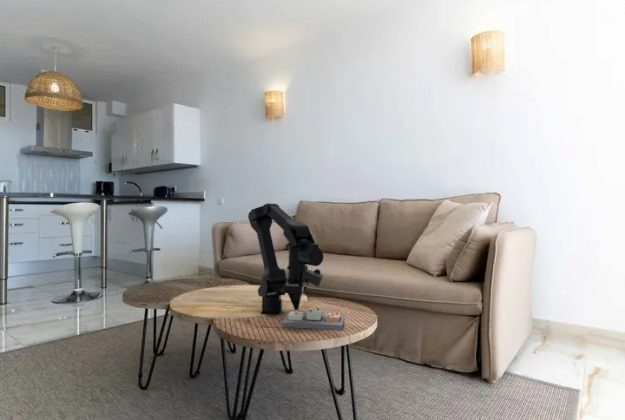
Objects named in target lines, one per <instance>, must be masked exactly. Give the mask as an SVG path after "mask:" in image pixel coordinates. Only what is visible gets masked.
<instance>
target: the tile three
mask: <svg viewBox="0 0 625 420" xmlns="http://www.w3.org/2000/svg"><path fill="white" fill-rule="evenodd" d="M325 314H326V316H325V321H327V322H340V315H341V313H330V312H328V313H325Z"/></svg>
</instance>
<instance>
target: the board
mask: <svg viewBox="0 0 625 420" xmlns="http://www.w3.org/2000/svg"><path fill="white" fill-rule="evenodd" d="M290 312H291V311H289V312H288V314H287V315H286V316H285V318H284V319H283V320H282V321H281V327H282V328H292V329H293V328H295V329H314V330H333V331H335V330H336V331H343V328H344V322H345V314H340V322H327V321H325V316H326V313H322V318H321V320H307V312H304V319H303V320H289V319H288V315H289V313H290Z"/></svg>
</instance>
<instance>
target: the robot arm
mask: <svg viewBox="0 0 625 420" xmlns="http://www.w3.org/2000/svg"><path fill="white" fill-rule="evenodd" d="M247 218H248V221H249V224H250V227H251V228H252V229H253V231H255V233H256V236H257V240H258V244H259V249H260V253H261V259H262V263H263V267H264V268H263V269H264V270H263V274H262V277H261V284H260V286H259V287H258V289H257V295H258V296H259V297H261V298H262V300H261V311H260V315H276V316H277V315H278V316H279V315H280V313H281V312H282V311H283V298H282V296H285V295H286V294H287V295H288V297H289V299H290V302H291V305H292V307H293V308H294V310H295V311H298V310H299V308H300V304H301V299H302V295H303V293H305V291H306V290H307V289H308V287H307V286H305V285H304V284H307V285H310V284H312V285H314V286H315V287H320V286H321V283H322V280H323V278H324V274H322V272H321V269H319V268H316V269H315V270H310V269H309V266H313V267H318V266H320V265H321V264H322V263H323V260H324V253H323V250H322V249H321V248H319V244H318V243H315V239H314V237H313V235H312V233H311V231H310V227H309V225H308V224H306V223H304V222H302V221H298V220H295V219H293V218H292V217H291V216H290V215H289V214H287V212H286V211H284V210H283V209H282V208H281V207H280V205H279V204H277V203H270V202H269V203H265V204H262V205H261V206H258V207H256V208H252V209H251V210H250V212H249V213H248V215H247ZM273 221H274V223H276V224H277V225H278V226H279V227H280V228H281V229H282V230H283V233H282V234H283V236H284V237H285V239H286V240H287V242H288V243H286V245H285V248H286V249H287V248H288V265H287V266H286V267H287V268H286V269H287V270H288V274H287V275H288V277H287V276H286V271H285V269H284V268H282V269H281V267H279V265H278V261H277V256H276V251H275V247H274V246H275V245H274V242H273V238H272V233H271V227H272V224H273ZM308 265H309V266H308Z"/></svg>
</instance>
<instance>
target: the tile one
mask: <svg viewBox="0 0 625 420" xmlns="http://www.w3.org/2000/svg"><path fill="white" fill-rule="evenodd" d="M289 312H290V313H289ZM289 312H288V314H289V315H288V314H287V315H288V319H289V320H303V319H304V313H305V311H289Z"/></svg>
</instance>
